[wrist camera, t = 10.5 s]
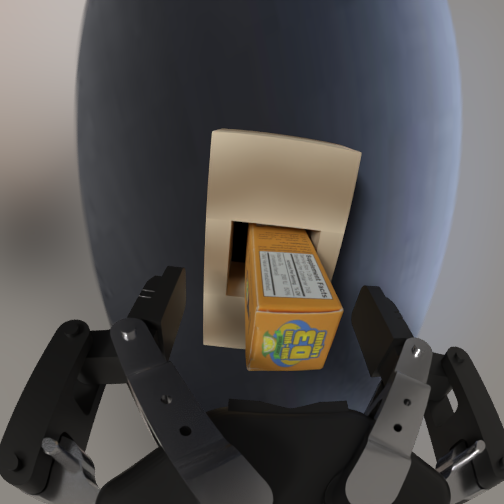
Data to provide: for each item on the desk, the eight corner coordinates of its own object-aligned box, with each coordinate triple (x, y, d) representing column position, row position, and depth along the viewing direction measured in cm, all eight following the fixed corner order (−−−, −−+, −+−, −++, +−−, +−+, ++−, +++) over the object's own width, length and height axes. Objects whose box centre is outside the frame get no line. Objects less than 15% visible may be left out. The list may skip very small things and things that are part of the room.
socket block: (222, 128, 15) (212, 131, 12) (338, 144, 15) (361, 152, 12) (211, 307, 21) (203, 344, 18) (300, 315, 21) (307, 352, 18)
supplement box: (295, 258, 19) (322, 376, 10) (245, 254, 19) (236, 374, 10) (303, 212, 18) (347, 314, 9) (249, 207, 17) (242, 309, 9)
